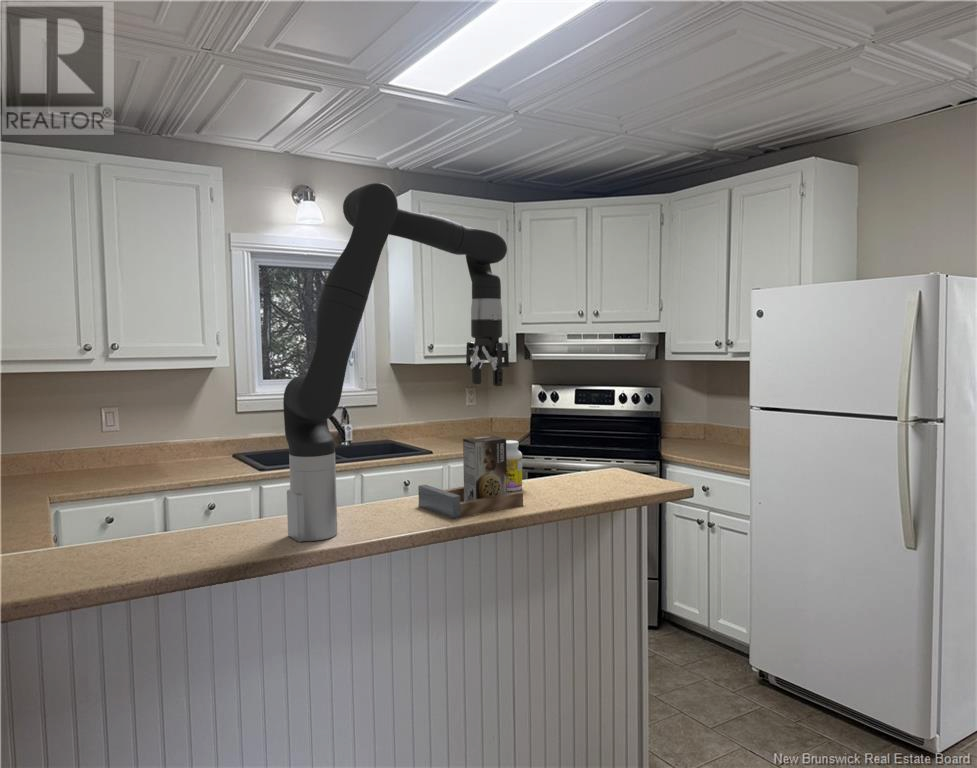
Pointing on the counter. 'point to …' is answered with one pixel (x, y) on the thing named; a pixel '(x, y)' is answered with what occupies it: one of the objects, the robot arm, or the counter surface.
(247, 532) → the counter surface
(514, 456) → the supplement bottle
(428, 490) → the bar
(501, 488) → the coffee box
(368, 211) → the robot arm
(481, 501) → the guide rails
